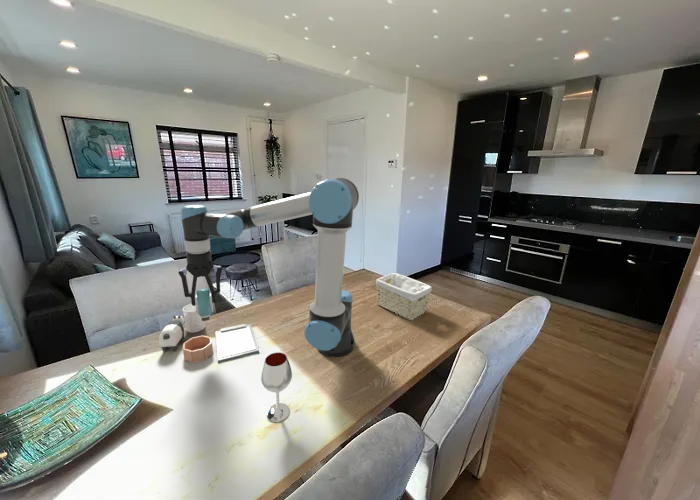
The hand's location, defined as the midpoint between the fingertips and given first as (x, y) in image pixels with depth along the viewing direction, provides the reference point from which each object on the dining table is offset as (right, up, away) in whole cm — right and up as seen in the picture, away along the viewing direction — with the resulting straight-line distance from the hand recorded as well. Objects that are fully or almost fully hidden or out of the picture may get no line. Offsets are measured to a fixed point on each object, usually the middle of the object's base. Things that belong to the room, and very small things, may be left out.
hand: (205, 311), depth 103 cm
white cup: (-12, -11, +16) cm, 23 cm away
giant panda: (-15, -14, +6) cm, 21 cm away
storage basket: (+79, -8, +40) cm, 89 cm away
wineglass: (+33, -24, -23) cm, 47 cm away
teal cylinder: (+1, -3, -1) cm, 3 cm away
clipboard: (+8, -14, +8) cm, 18 cm away
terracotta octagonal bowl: (-2, -16, 0) cm, 16 cm away
